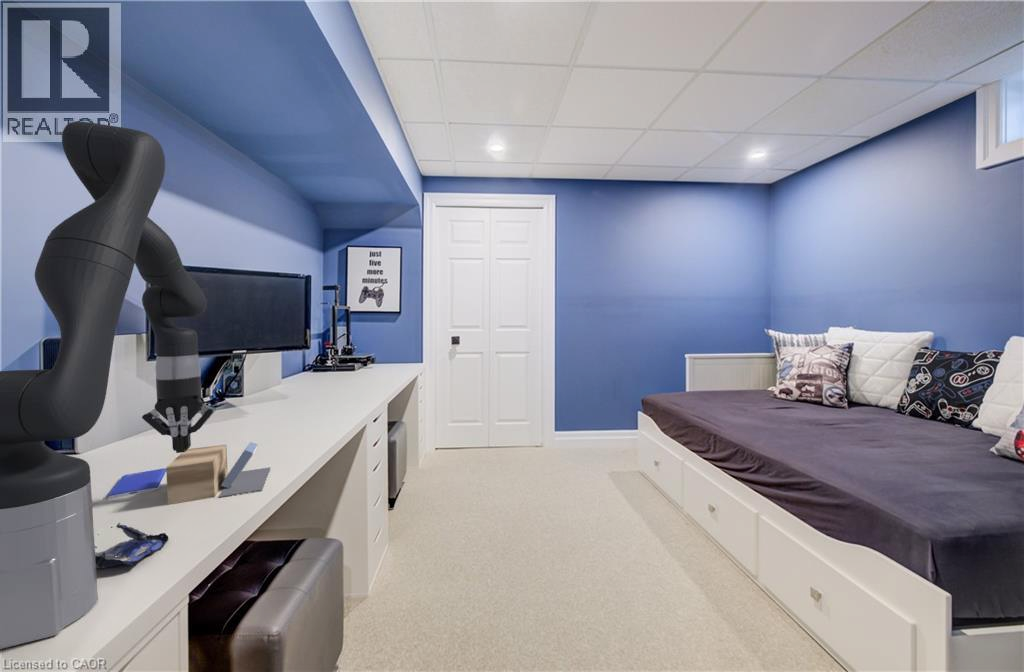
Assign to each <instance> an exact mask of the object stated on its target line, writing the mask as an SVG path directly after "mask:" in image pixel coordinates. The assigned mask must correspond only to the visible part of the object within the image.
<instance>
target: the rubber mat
mask: <svg viewBox="0 0 1024 672" xmlns="http://www.w3.org/2000/svg"><path fill="white" fill-rule="evenodd" d="M270 468H272V467H263V468H257V469H256V468H255V469H248V470H242V472H241V473H240V475H239V476H238V477H237V479H236V480H235V482H234V483H233V485H232V486H230V488H226V487H223V490H221V493H220V494H219V496H218V498H219V499H221V498H226V497H233V496H232V495H234V496H238V495H237V494H240V495H243V494H242V493H246V494H249V493H248V492H252V493H256V492H255V491H258V492H263V490H262V489H264V487H265V485H264V484H266V482H267V479H268V477H267V476H269V474H270V472H271V469H270ZM268 473H269V474H268ZM266 478H267V479H266ZM265 481H266V482H265Z"/></svg>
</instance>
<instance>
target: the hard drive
mask: <svg viewBox="0 0 1024 672" xmlns="http://www.w3.org/2000/svg"><path fill="white" fill-rule="evenodd" d="M166 476H167V474H166V467H165V468H158V469H153V470H145V471H141V472H134V473H128V474H124V475H122V476H121V477H120V479H119V480H118V482H117V483H116V484H115V485H114V487H113V488H112V490H110V492H109V493H108V494H107V496H106V497H107V498H106V500H113V499H118V498H124V497H128V496H135V495H137V494H138V495H139V494H143V493H149V492H155V491H158V490H159V488H160V487H161V485H162V482H163V480H164V478H165V477H166Z"/></svg>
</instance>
